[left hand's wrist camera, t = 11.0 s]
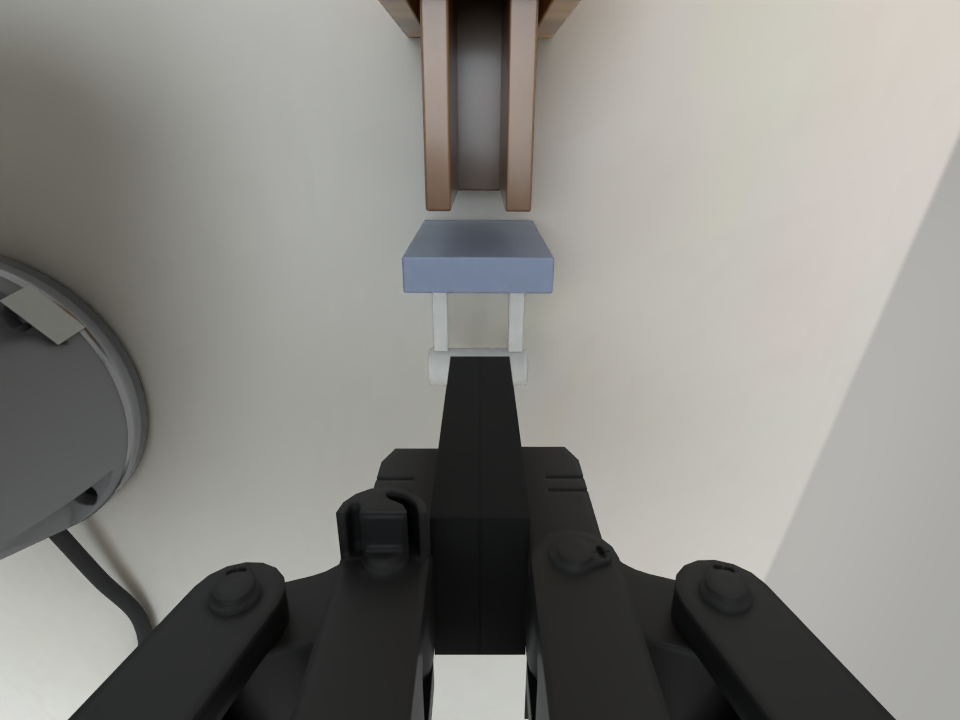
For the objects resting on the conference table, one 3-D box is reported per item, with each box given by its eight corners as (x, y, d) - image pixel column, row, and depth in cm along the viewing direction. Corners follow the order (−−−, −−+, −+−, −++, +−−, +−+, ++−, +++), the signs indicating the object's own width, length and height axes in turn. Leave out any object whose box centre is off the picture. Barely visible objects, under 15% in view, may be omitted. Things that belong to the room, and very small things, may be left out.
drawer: (527, 353, 28) (545, 434, 21) (428, 352, 28) (409, 433, 21) (552, -293, 20) (597, -556, 12) (409, -295, 20) (365, -558, 12)
